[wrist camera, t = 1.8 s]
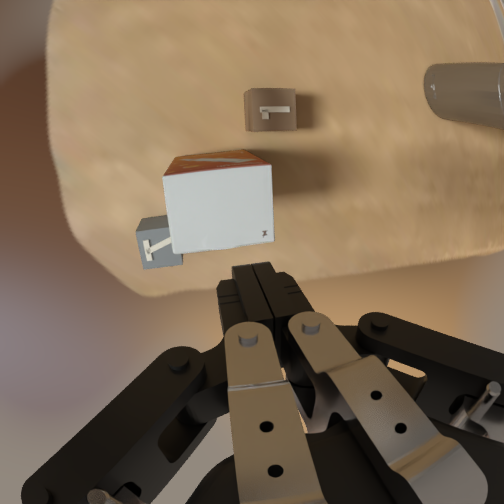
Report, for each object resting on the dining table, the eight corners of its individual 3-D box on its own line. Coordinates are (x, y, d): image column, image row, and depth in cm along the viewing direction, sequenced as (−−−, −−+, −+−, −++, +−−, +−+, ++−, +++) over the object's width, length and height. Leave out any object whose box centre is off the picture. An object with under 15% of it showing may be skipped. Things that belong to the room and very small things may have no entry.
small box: (244, 148, 32) (274, 163, 20) (247, 201, 35) (276, 243, 23) (173, 156, 31) (160, 175, 19) (179, 209, 33) (173, 257, 22)
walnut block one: (282, 92, 30) (295, 88, 26) (283, 129, 32) (297, 130, 28) (243, 93, 29) (251, 88, 25) (245, 130, 31) (253, 131, 27)
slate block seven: (178, 213, 34) (176, 226, 29) (183, 248, 36) (182, 265, 31) (141, 218, 33) (135, 232, 29) (148, 252, 35) (143, 270, 31)
